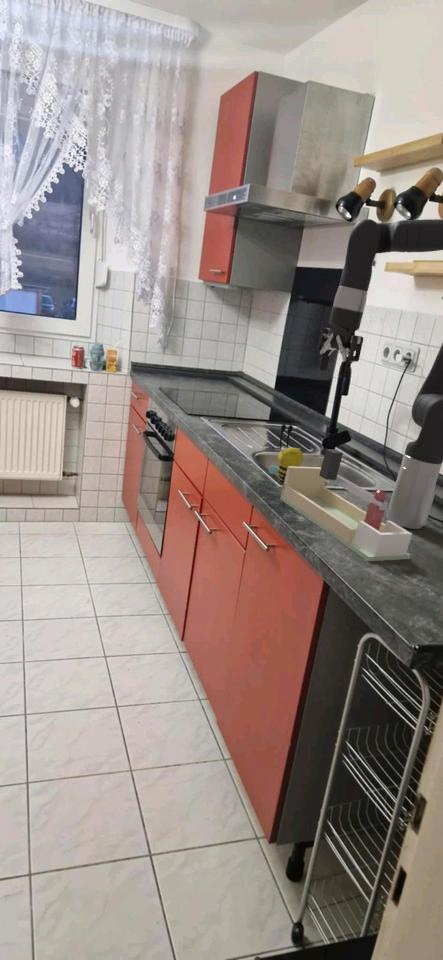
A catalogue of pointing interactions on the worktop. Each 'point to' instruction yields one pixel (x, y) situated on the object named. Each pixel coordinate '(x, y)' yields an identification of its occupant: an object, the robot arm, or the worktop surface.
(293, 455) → the toy
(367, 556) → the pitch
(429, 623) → the worktop surface
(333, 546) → the worktop surface
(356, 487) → the grey red jointed piece
